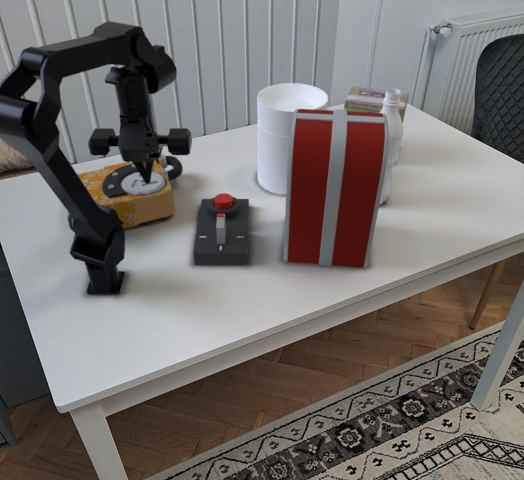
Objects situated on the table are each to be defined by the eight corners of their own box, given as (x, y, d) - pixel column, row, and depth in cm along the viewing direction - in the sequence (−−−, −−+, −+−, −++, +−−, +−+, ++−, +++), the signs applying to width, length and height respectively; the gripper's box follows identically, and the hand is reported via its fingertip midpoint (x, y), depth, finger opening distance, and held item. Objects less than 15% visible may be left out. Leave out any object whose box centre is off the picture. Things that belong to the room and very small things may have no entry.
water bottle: (354, 203, 124) (370, 94, 106) (365, 189, 129) (382, 82, 110) (383, 211, 122) (405, 100, 104) (393, 196, 126) (415, 88, 108)
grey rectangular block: (225, 244, 108) (224, 226, 105) (217, 244, 108) (216, 226, 105) (225, 230, 111) (224, 212, 108) (218, 230, 111) (217, 212, 108)
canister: (331, 188, 129) (341, 105, 114) (271, 200, 125) (273, 116, 110) (304, 158, 139) (309, 79, 124) (248, 169, 135) (246, 88, 120)
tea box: (337, 156, 140) (343, 100, 129) (344, 140, 146) (351, 84, 136) (393, 165, 137) (405, 107, 126) (398, 147, 144) (409, 91, 133)
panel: (247, 265, 108) (247, 252, 106) (194, 265, 108) (193, 252, 106) (248, 234, 116) (248, 221, 113) (198, 234, 116) (197, 221, 113)
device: (47, 163, 120) (172, 138, 129) (58, 195, 126) (176, 170, 135) (65, 212, 106) (203, 181, 115) (76, 246, 112) (206, 214, 121)
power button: (232, 209, 116) (232, 202, 114) (214, 209, 116) (214, 202, 114) (233, 200, 118) (232, 193, 117) (215, 200, 118) (215, 193, 117)
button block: (248, 231, 116) (248, 215, 113) (199, 231, 116) (197, 216, 113) (249, 206, 123) (248, 191, 120) (202, 207, 123) (200, 191, 120)
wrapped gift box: (288, 218, 120) (294, 96, 100) (366, 223, 119) (387, 100, 99) (282, 262, 109) (287, 135, 89) (368, 268, 107) (392, 140, 88)
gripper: (71, 123, 88) (93, 204, 100) (182, 122, 89) (191, 204, 100) (86, 96, 96) (104, 175, 107) (187, 96, 96) (195, 174, 108)
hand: (148, 182), depth 105 cm, fingers closed
